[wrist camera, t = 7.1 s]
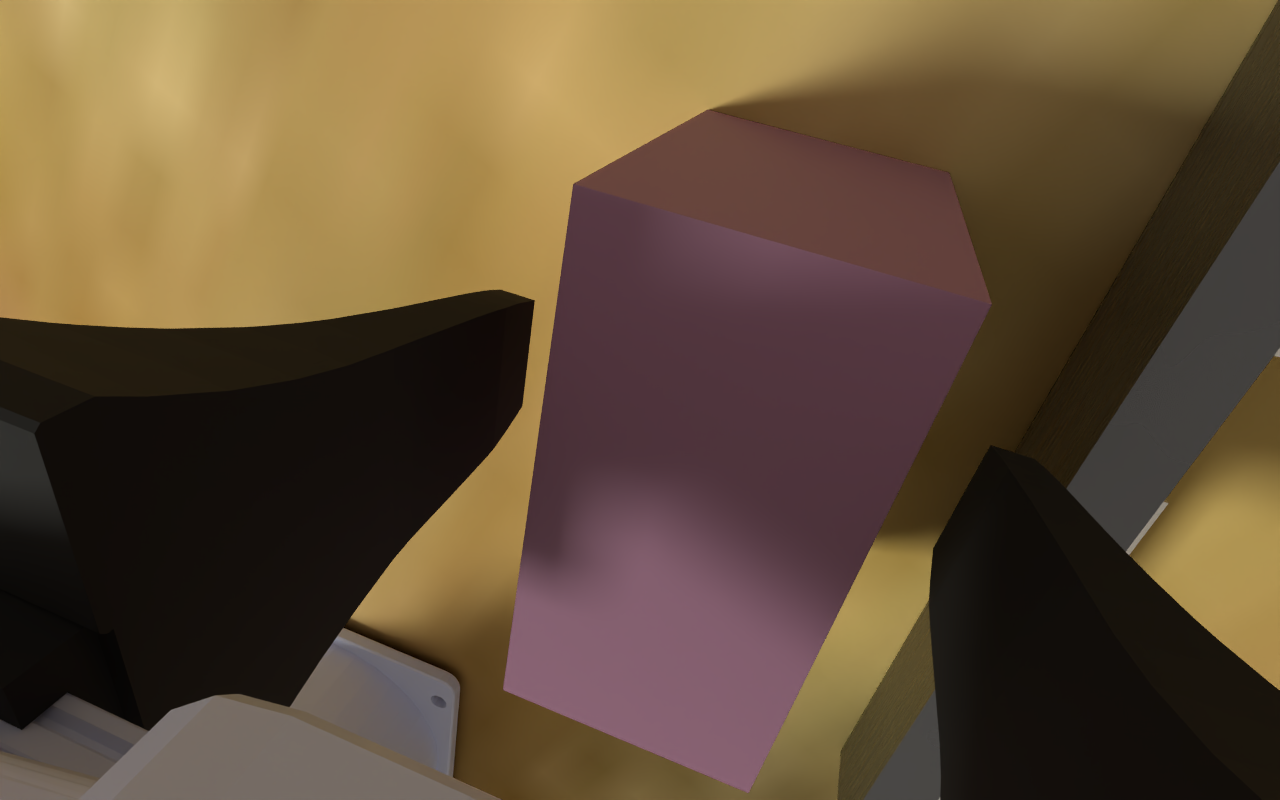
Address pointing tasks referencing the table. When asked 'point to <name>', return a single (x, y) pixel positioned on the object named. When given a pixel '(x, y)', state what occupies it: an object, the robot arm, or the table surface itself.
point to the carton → (728, 425)
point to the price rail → (1133, 384)
